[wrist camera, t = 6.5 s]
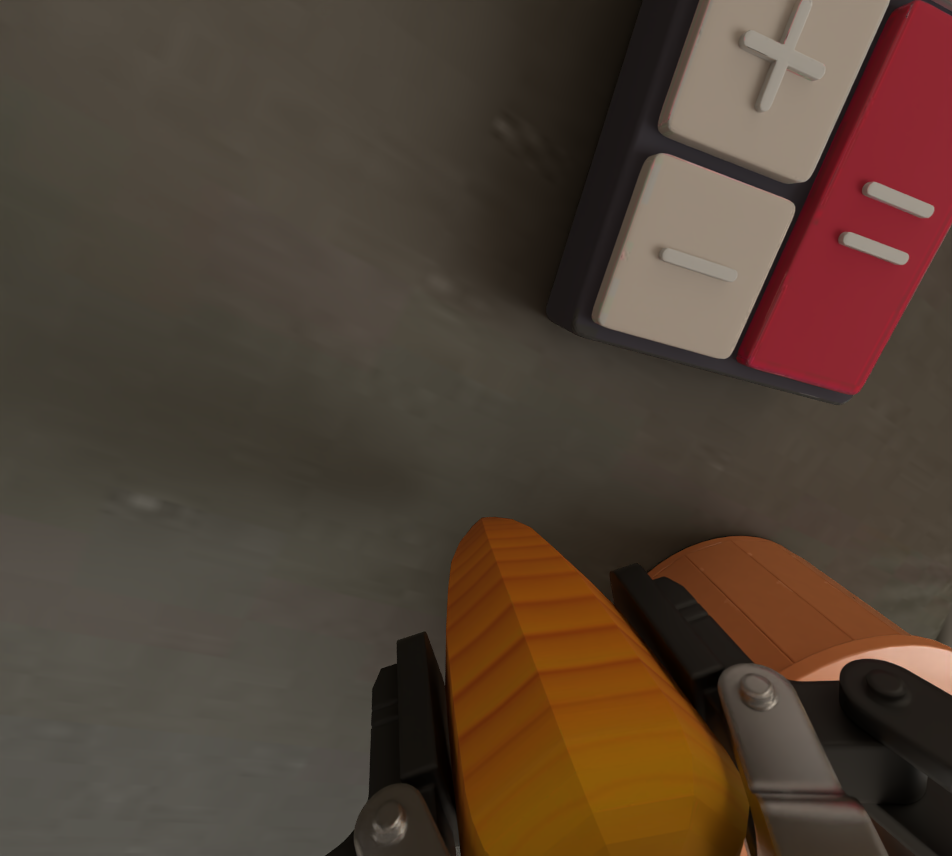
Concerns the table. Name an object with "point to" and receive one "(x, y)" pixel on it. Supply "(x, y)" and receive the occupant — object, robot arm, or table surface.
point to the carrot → (570, 718)
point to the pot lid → (909, 652)
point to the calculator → (766, 188)
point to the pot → (771, 599)
